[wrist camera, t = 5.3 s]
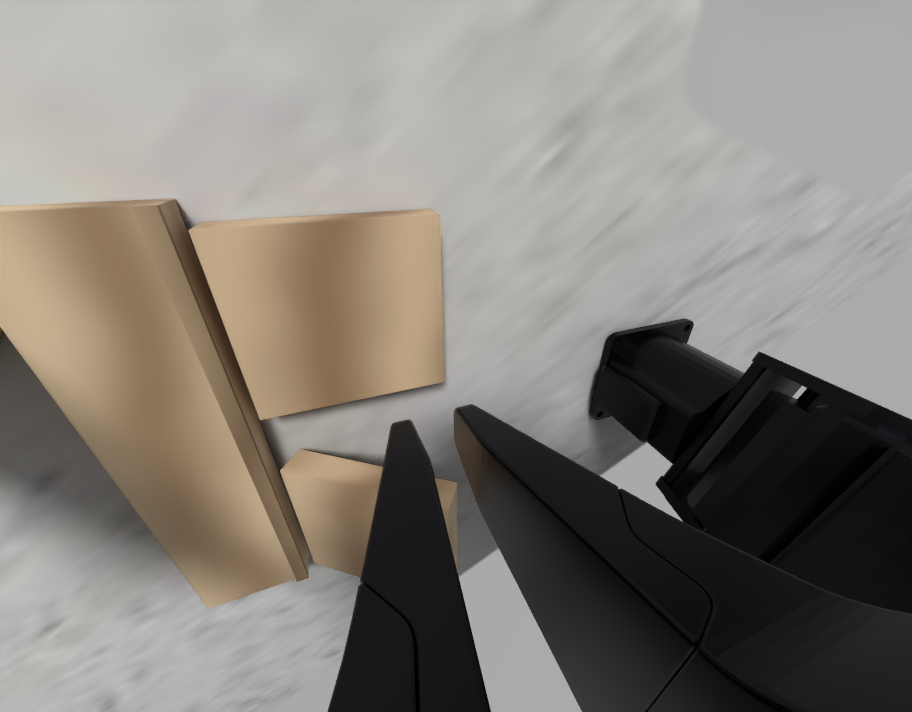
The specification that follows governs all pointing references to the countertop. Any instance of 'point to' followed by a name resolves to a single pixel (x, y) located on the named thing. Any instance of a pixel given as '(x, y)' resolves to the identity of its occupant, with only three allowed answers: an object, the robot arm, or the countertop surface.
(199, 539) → the laid board
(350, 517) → the plank
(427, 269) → the plank
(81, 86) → the countertop surface
